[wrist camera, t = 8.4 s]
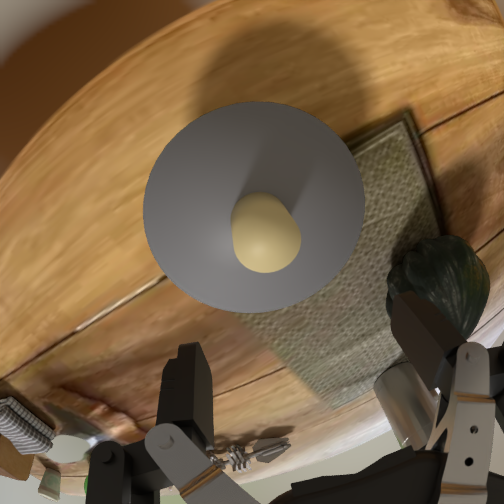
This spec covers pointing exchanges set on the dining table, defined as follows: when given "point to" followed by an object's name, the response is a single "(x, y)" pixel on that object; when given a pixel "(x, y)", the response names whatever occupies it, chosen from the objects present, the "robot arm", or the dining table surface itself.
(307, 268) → the lid
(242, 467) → the spaceship
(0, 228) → the dining table surface
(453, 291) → the squash
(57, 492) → the coffee cup
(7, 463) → the bread
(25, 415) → the towel
